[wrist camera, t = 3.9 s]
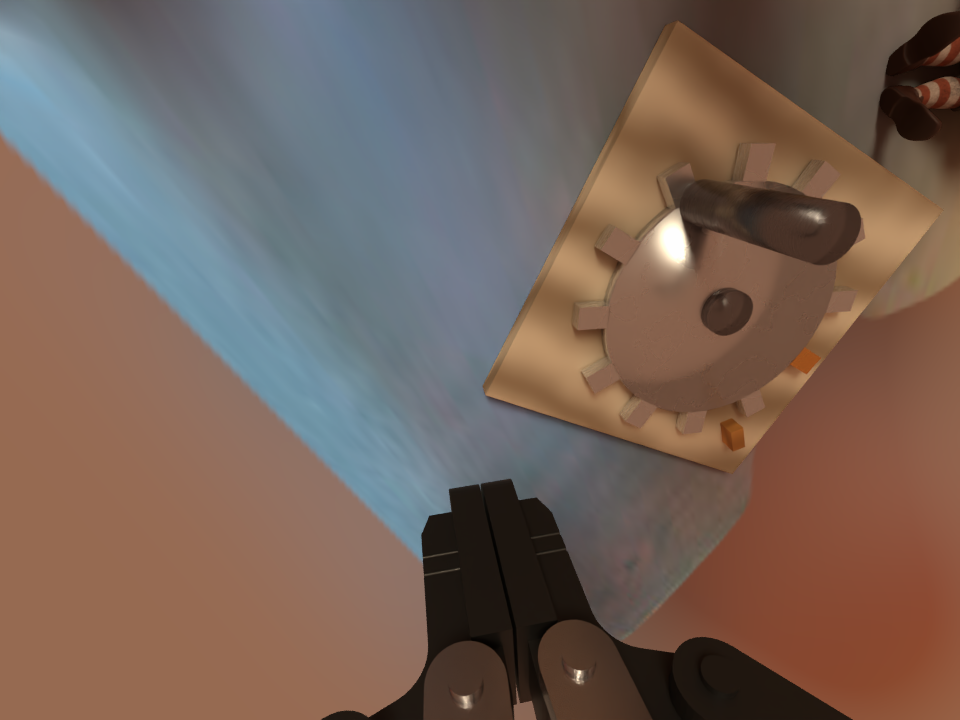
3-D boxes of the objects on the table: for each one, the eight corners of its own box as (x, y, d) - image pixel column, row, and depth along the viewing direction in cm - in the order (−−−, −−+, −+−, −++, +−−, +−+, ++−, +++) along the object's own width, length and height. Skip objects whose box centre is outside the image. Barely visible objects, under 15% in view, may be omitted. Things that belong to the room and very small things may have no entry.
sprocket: (686, 75, 29) (853, 46, 19) (909, 225, 37) (1120, 265, 26) (521, 382, 38) (570, 484, 27) (731, 453, 45) (835, 555, 34)
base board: (665, 25, 29) (692, 14, 27) (924, 207, 38) (965, 213, 36) (482, 386, 39) (489, 405, 37) (723, 464, 48) (742, 484, 45)
